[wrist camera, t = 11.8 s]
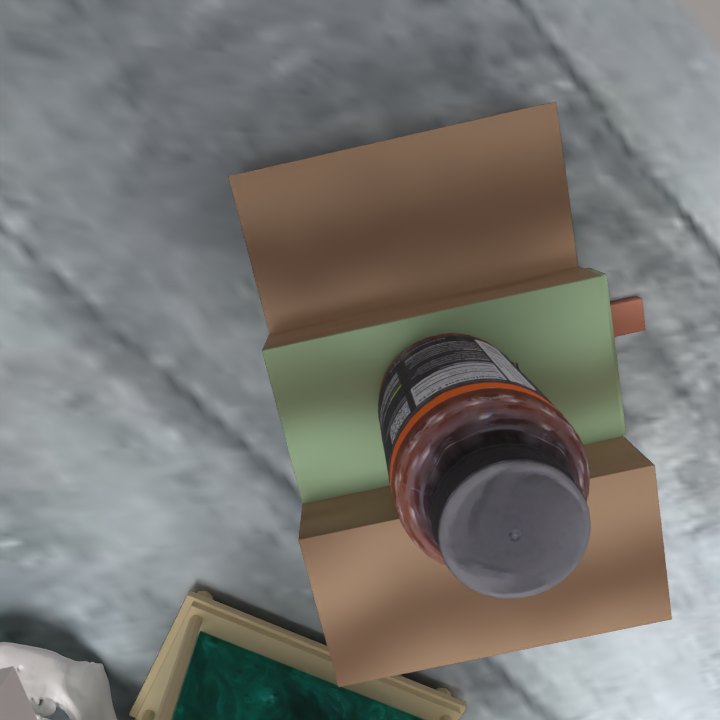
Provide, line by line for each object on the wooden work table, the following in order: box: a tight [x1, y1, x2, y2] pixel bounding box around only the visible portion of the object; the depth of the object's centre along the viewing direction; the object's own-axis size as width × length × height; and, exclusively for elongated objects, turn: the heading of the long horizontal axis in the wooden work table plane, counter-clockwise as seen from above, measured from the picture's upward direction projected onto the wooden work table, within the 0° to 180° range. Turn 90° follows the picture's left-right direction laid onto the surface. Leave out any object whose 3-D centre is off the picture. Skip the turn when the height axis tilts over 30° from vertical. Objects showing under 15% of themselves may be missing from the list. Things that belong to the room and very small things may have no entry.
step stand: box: [228, 102, 672, 687], centre depth 30 cm, size 21×18×9 cm
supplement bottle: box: [378, 333, 591, 599], centre depth 23 cm, size 6×6×11 cm
